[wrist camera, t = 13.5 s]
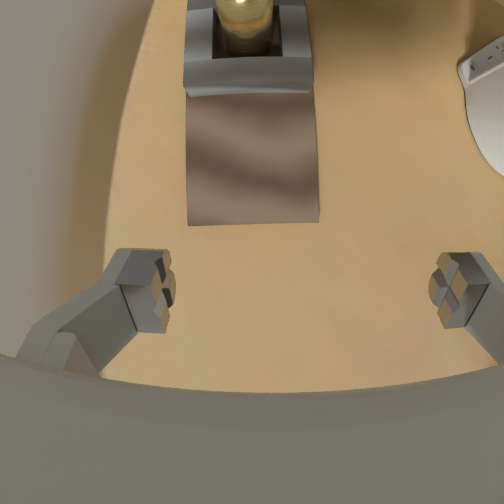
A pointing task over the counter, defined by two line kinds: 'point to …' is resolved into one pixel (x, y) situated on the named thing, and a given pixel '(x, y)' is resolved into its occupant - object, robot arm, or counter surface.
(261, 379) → the counter surface
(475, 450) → the robot arm
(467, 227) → the counter surface
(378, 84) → the counter surface
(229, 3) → the translucent yellow cylinder
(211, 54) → the jig
